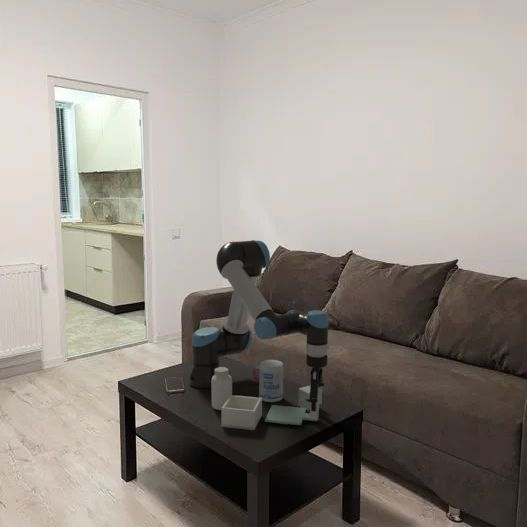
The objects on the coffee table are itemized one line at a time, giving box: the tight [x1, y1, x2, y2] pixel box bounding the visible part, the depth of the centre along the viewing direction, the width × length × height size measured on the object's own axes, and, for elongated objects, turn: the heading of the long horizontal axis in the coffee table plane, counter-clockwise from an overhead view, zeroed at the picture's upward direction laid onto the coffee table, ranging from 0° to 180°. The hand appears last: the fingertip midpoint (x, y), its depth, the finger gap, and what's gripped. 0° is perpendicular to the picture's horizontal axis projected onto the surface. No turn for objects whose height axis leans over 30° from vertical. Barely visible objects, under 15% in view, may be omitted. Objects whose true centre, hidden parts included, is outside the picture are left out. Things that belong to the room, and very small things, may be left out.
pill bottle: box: [210, 366, 233, 411], centre depth 200 cm, size 8×8×15 cm
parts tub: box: [220, 394, 263, 431], centre depth 187 cm, size 12×12×7 cm
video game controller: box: [252, 365, 260, 383], centre depth 229 cm, size 10×5×7 cm, turn 164°
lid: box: [264, 401, 320, 426], centre depth 189 cm, size 13×18×7 cm
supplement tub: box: [258, 359, 284, 403], centre depth 208 cm, size 10×10×15 cm
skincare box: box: [297, 385, 314, 412], centre depth 200 cm, size 6×6×7 cm
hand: (315, 411), depth 188 cm, fingers open, 13 cm apart
